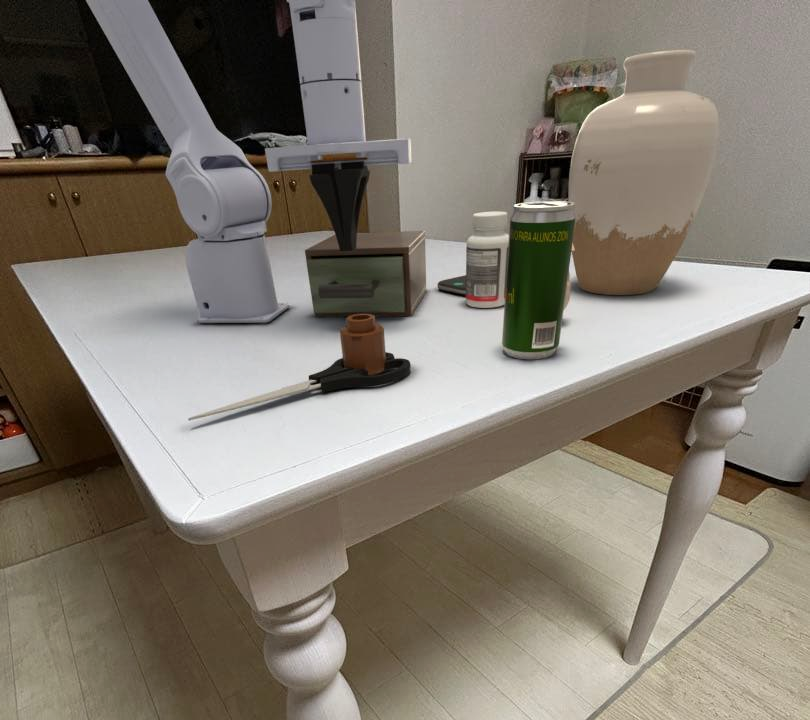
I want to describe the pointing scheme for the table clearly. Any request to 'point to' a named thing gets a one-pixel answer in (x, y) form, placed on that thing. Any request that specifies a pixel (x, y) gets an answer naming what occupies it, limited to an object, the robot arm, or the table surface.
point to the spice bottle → (363, 343)
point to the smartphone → (454, 285)
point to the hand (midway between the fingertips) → (348, 249)
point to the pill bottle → (487, 260)
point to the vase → (640, 175)
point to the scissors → (329, 382)
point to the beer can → (537, 277)
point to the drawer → (357, 283)
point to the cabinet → (380, 244)
